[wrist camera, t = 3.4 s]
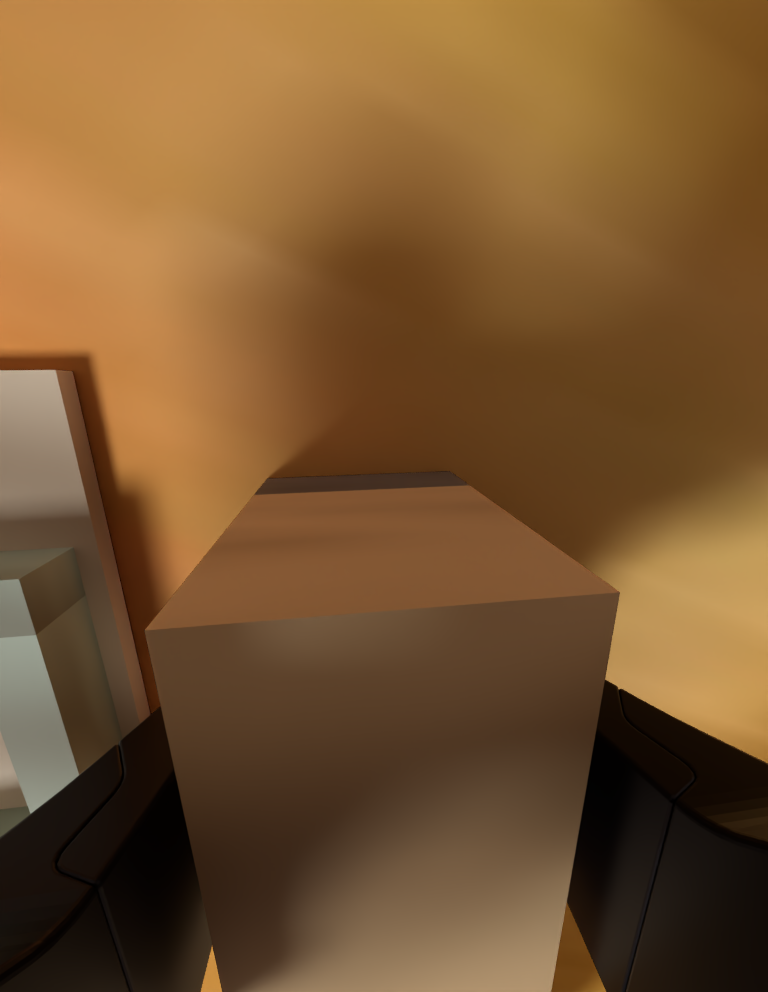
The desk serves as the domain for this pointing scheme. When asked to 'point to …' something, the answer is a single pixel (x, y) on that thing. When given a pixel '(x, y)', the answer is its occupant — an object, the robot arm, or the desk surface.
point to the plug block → (383, 735)
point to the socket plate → (56, 600)
